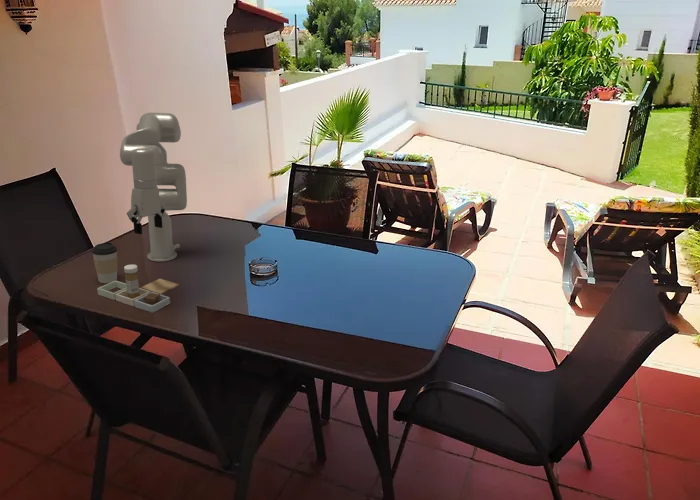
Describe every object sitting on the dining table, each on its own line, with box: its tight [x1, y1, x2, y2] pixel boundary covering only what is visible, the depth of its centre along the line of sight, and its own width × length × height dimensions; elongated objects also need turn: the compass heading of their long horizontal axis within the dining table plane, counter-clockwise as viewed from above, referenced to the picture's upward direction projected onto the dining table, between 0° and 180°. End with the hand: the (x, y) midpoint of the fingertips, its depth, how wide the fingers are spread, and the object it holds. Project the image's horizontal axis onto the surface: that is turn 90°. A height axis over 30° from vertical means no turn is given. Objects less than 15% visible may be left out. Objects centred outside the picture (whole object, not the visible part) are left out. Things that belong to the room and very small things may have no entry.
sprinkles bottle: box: [123, 264, 140, 299], centre depth 193 cm, size 5×5×14 cm
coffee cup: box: [91, 241, 118, 284], centre depth 207 cm, size 9×9×15 cm
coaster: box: [140, 278, 180, 295], centre depth 206 cm, size 10×10×1 cm
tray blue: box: [134, 292, 171, 314], centre depth 191 cm, size 9×9×3 cm
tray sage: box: [96, 280, 127, 301], centre depth 198 cm, size 9×9×3 cm
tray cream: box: [115, 287, 151, 307], centre depth 195 cm, size 9×9×3 cm
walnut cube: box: [144, 293, 160, 305], centre depth 191 cm, size 4×4×4 cm
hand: (148, 230), depth 188 cm, fingers open, 9 cm apart
